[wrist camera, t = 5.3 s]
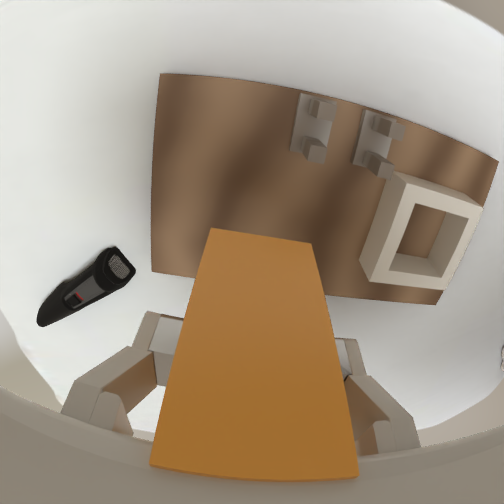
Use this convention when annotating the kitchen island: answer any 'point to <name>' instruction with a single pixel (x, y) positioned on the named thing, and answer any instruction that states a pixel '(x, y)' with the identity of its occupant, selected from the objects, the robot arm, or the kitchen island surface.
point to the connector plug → (256, 370)
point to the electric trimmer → (87, 287)
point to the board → (294, 176)
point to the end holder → (394, 224)
